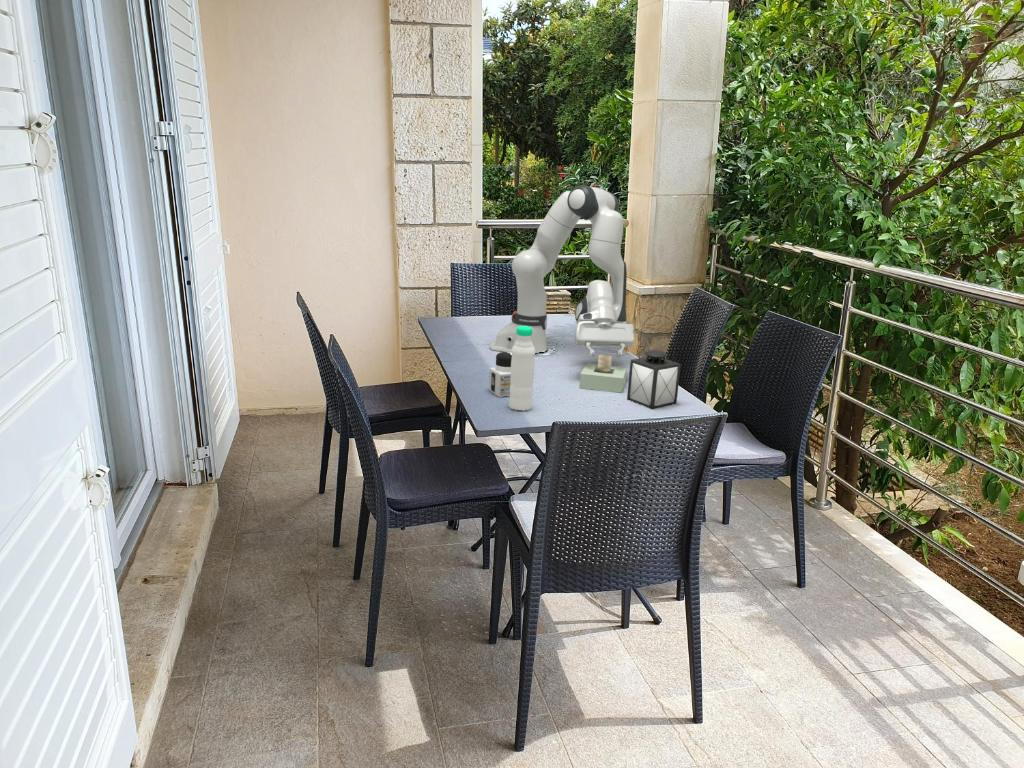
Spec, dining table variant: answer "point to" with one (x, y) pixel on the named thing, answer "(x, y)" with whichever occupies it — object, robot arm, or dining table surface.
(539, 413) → the dining table surface
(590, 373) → the hole block
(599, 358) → the peg
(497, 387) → the container
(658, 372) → the lantern
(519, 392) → the water bottle
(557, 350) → the dining table surface
